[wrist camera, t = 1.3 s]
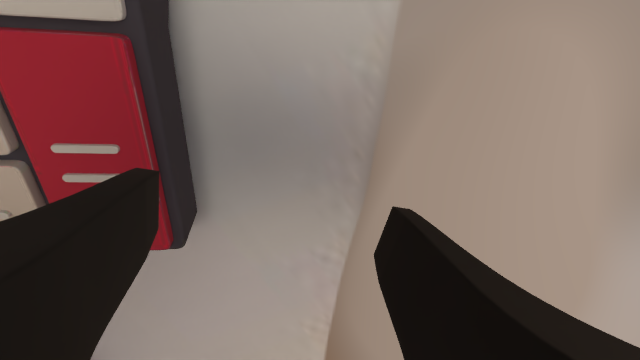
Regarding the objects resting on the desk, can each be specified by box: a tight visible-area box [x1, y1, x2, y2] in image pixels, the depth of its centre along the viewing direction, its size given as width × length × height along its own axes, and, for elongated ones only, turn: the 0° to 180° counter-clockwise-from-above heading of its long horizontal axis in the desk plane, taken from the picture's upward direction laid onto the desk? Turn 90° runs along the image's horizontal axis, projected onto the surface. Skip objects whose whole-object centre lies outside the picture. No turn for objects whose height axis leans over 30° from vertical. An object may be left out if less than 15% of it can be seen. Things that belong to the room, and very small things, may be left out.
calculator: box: [0, 0, 197, 250], centre depth 14 cm, size 11×4×15 cm
